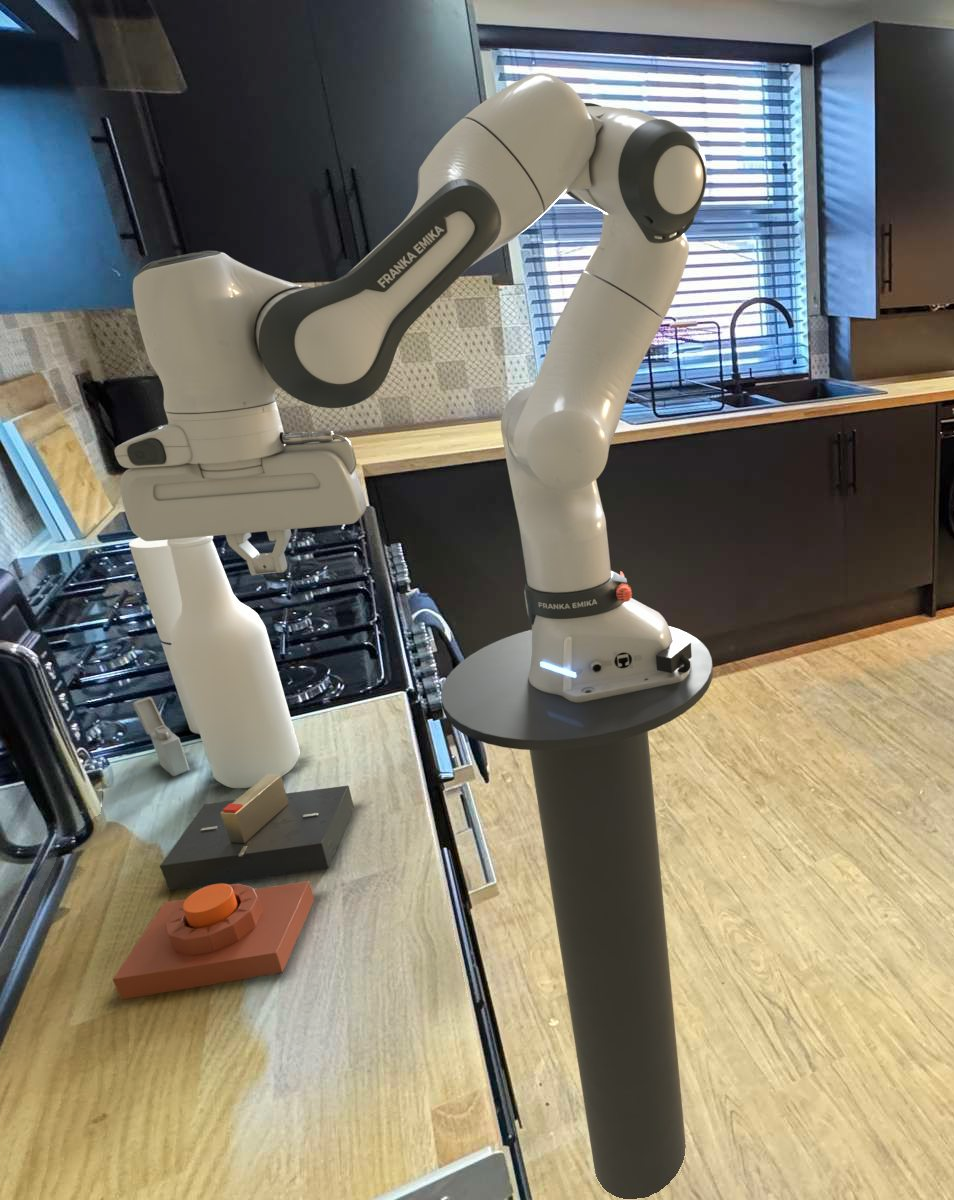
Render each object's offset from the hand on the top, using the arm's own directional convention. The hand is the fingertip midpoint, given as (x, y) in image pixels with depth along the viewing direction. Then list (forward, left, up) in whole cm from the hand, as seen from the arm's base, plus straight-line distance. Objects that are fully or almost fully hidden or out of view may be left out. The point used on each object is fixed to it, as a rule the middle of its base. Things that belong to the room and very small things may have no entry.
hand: (269, 572), depth 85 cm
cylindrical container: (+18, -20, -27) cm, 38 cm away
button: (+2, +24, -23) cm, 33 cm away
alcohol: (+9, -6, -27) cm, 29 cm away
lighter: (+20, -10, -27) cm, 35 cm away
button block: (+2, +24, -26) cm, 35 cm away
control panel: (+3, +10, -26) cm, 28 cm away
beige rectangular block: (+3, +10, -23) cm, 25 cm away
